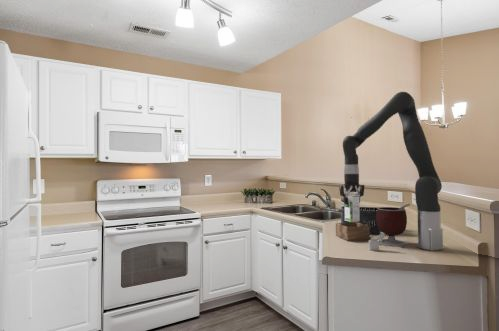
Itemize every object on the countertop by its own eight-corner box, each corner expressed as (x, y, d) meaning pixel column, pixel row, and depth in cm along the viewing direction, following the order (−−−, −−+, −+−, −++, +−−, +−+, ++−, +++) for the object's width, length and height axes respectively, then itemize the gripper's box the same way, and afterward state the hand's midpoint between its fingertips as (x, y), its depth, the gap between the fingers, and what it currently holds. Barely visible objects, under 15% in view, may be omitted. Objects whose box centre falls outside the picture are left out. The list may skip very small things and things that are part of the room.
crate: (369, 239, 161) (369, 226, 161) (347, 241, 159) (347, 227, 159) (356, 234, 174) (356, 222, 174) (335, 236, 171) (335, 223, 171)
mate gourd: (372, 243, 153) (371, 203, 153) (381, 238, 163) (381, 200, 164) (406, 248, 143) (405, 205, 143) (414, 243, 153) (413, 202, 154)
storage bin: (388, 228, 192) (388, 207, 192) (396, 235, 173) (395, 211, 173) (340, 227, 198) (340, 206, 198) (342, 233, 179) (342, 210, 180)
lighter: (370, 250, 140) (369, 232, 140) (368, 249, 142) (368, 232, 142) (385, 250, 141) (385, 232, 141) (383, 249, 142) (383, 231, 142)
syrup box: (344, 220, 168) (343, 194, 168) (353, 220, 170) (352, 193, 170) (351, 222, 163) (350, 194, 163) (360, 221, 165) (359, 194, 165)
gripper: (342, 173, 162) (343, 205, 161) (367, 173, 164) (368, 204, 164) (335, 173, 169) (336, 204, 169) (359, 172, 172) (360, 203, 172)
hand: (352, 204), depth 166 cm, fingers closed on syrup box, 6 cm apart
